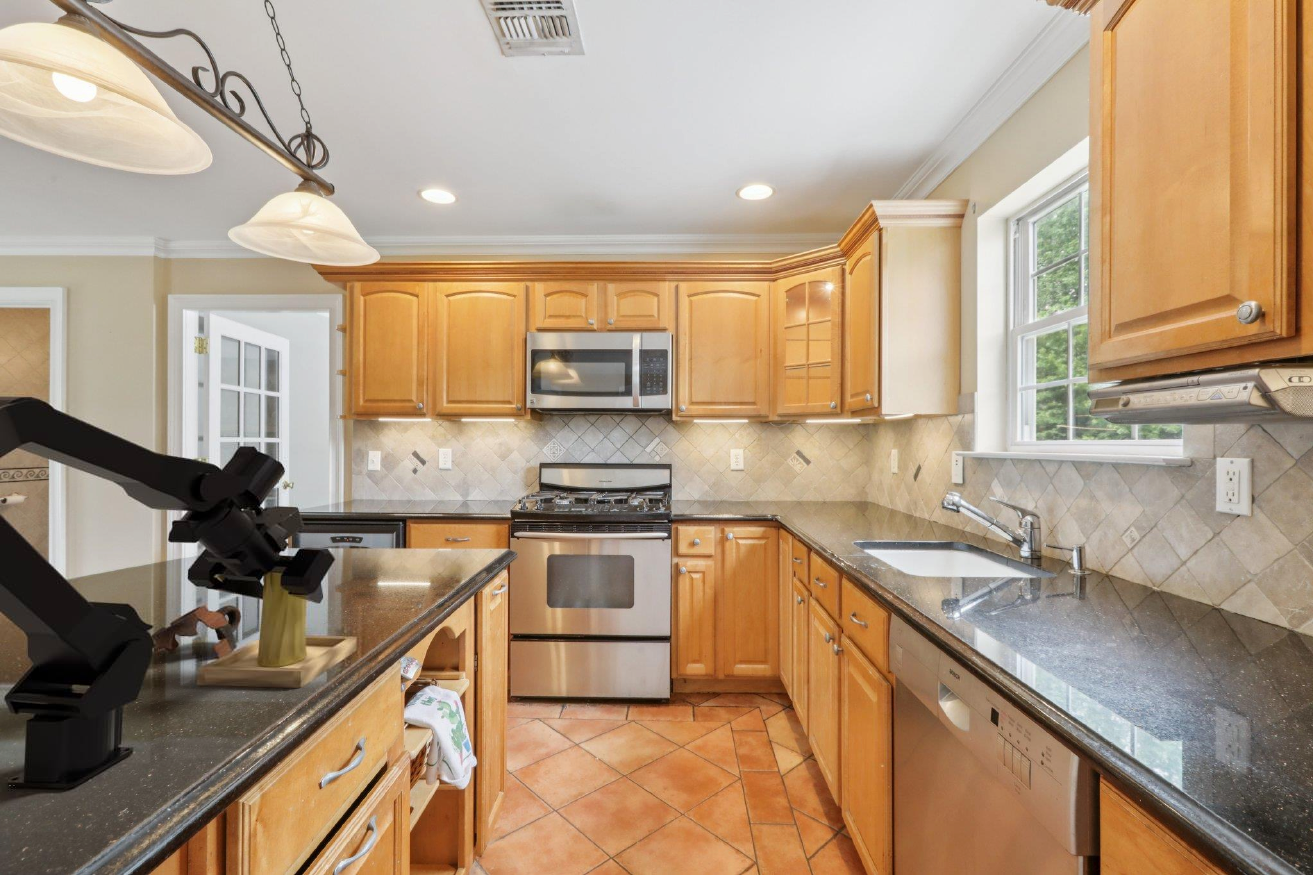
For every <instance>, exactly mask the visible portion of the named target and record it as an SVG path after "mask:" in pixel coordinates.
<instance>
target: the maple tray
mask: <svg viewBox="0 0 1313 875" xmlns="http://www.w3.org/2000/svg"><path fill="white" fill-rule="evenodd" d="M357 638H358V637H357V636H345V635H344V636H343V635H342V636H341V635H340V636H339V635H337V636H336V635H333V636H332V635H307V634H306V651H307V656H306V658H305V659H303V660H302V661H300V662H297V663H295V664H291V665H287V666H281V667H263V666H260V665H258V664H257V658H258V651H259V639H257V640H253V641H252V642H251V643H248V644H246V645H244V646H242V647H240V648H237V649H234V650H232V651H231V652H230V653H229V654H227V655H225V656H223V657H221V658H219V659H218V658H217V659H214V660H213V661H211V662H208V663H206V664H205V665H202V666H200V667H198V668H197V679H196V680H197V681H196V682H197V683H196V685H197V686H219V687H220V686H223V687H254V688H255V687H256V688H257V687H258V688H259V687H261V688H265V687H267V688H295V689H296V688H298V689H300V688H302V687H305V686H306V685H308V684H309V683H310V682H311V681H313V680H314V679H316V678H318V677H319V676H321V675H322V674H323V673H325V672H327V671H329V669H331V668H333V667H334V666H335V665H338V663H340V662H341V661H344V659H346V658H348V657H349V656H351V655H352V654H354V653H355V652H356V651H357V642H358V641H357Z"/></svg>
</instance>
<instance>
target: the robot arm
mask: <svg viewBox="0 0 1313 875" xmlns="http://www.w3.org/2000/svg"><path fill="white" fill-rule="evenodd" d="M16 449H18V450H22V451H25V452H27V453H31V454H33V455H35V456H39V457H42V458H43V459H44V458H45V459H47V460H50V461H53V462H56V463H58V464H60V465H64V466H68V467H69V468H73V469H76V470H79V471H81V472H84V473H86V474H89V475H92V476H95V477H98V478H101V479H103V480H107V481H109V482H111V483H113V484H116V485H118V486H119V487H121V488H122V489H123V490H124V492H125V493H126V495H127V496H128V497H130V498H132V499H133V500H135V501H137V502H138V503H141V505H144V506H146V507H147V508H150V509H152V510H157V511H158V510H159V511H179V512H180V511H181V512H183V511H184V512H185V514H183V515H182V517H181V518H180V519H178V520H177V519H175V520H172V521H171V529H170V531H169V533H168V537H167V538H168V539H167V540H168V543H174V544H175V543H179V544H180V543H182V544H183V543H184V544H186V543H187V544H196V543H198V542H199V543H200V544H201V546H203V547H204V550H203V551H202V552H201V553H200V555H198V557H197V558H196V559H195V560H194V561H193V563H192V564H191V566H189V568H188V569H187V580H188V581H189V582H190V583H191V584H193V585H194V587H199V588H205V589H207V590H212V591H213V590H214V591H219V592H223V593H228V594H234V595H238V596H239V595H240V596H244V597H248V598H254V599H257V600H262V601H263V586H264V584H263V583H262V582H261V580H262V578H264V575H265V574H268V573H269V572H271V573H282V575H281V583H280V585H281V586H282V588H283V589H284V590H287V591H289V592H288V594H289V595H292V596H295V597H299V598H302V599H305V600H306V601H308V602H311V603H314V604H321V602H322V601H323V599H324V593H323V587H322V582H323V580H324V579H325V577H326V575H327V574H328V572H329V571H330V569H331V567H332V565H333V563H334V562H335V560H336V558H335V556H334V554H333V553H332V552H331V551H330V549H329V548H325V547H311V546H310V547H309V546H305V547H301V548H298V550H297V551H296V553H295V555H282V554H280V553H281V552H285V550H286V549H287V548H288V547H289V545H290V544H289V543H288V541H287V540H288V539H289V538H290V537H292V536H294V534H296V533H297V532H298V531H302V530H303V529H304V528H305V525H304V524H305V523H304V522H303V518H302V516H301V513H300V510H299V507H297V506H281V505H277V506H271V507H269V506H267V507H264V508H263V507H262V506H261V505H262V504H263V503H264V501H265V500H266V499H267V498H268V497H269V495H270V494H271V492H272V490H273V489H274V488H275V487H276V485H278V483H279V481H280V480H281V479H282V477H283V476H285V473H286V470H285V469H286V468H285V467H284V465H283V463H282V462H281V461H278V460H277V459H275V458H274V457H273V456H270V455H268V454H267V453H264V452H261V451H258V449H257V448H256V446H250V445H249V446H248V445H247V446H245V445H240V446H239V447H238V448H237V450H236V451H235V452H234V454H233V455H232V456H231V458H230V459H229V460H228V461H227V463H226V464H225V465H224V466H223V467H222V469H221V468H220V467H219V466H217V465H216V464H214V463H211V462H206V461H202V460H197V459H193V458H189V457H183V456H175V455H169V454H163V453H160V452H155V451H153V450H150V449H148V448H146V447H144V446H141V445H139V444H136V443H135V442H132V441H131V440H128V439H125V438H122V437H121V436H118V435H116V434H114V433H111V432H109V431H106V430H105V429H102V428H100V427H97V426H95V425H93V424H91V423H89V422H85V421H84V420H81V419H80V418H77V417H75V416H72V415H70V414H67V413H65V412H62V411H61V410H58V409H57V408H54V406H52V405H51V404H49V403H48V402H46V401H44V400H42V399H40V398H35V397H32V396H0V459H2V458H3V457H5V456H6V455H8V454H9V453H11V452H13V451H14V450H16ZM0 613H1V614H2V615H4V617H6V618H7V619H8V620H9V621H10V622H12V623H13V624H14V625H15V626H16V627H17V628H19V629H20V630H21V631H22V632H23V633H24V634H25V635H26V639H27V640H26V641H27V657H28V659H29V660H30V661H31V663H32V665H31V666H30V668H28V670H27V671H26V672H25V673H24V674H23V675H22V676H21V677H20V679H19V680H18V681H17V682H16V683H15V684H14V685H13V686H12V687H11V689H10V690H9V691H8V692H7V693H6V694H5V696H4V702H5V704H6V705H7V708H8V710H9V712H10V714H12V715H19V714H21V715H22V714H25V715H33V717H31V718H28V719H27V720H26V722H25V742H24V744H25V745H24V760H23V761H24V763H23V765H24V766H23V768H24V769H23V771H22V772H20V773H19V774H17V775H15V776H13V777H10V778H9V779H7V781H6V787H9V785H11V786H13V785H14V786H23V787H22V788H42V789H43V788H48V789H50V788H51V789H70V788H74V787H76V786H79V785H80V784H83V783H84V782H86V781H87V780H90V779H91V778H93V777H94V776H96V775H98V774H100V773H102V772H103V771H105V770H106V769H108V768H110V767H112V766H113V765H115V764H117V763H118V762H120V761H122V760H124V759H125V758H127V757H129V756H130V755H132V754H133V753H134V749H135V748H134V747H132V746H129V747H128V746H127V747H126V746H121V745H122V739H123V738H122V736H123V715H124V714H123V712H124V708H123V706H125V705H128V704H129V703H132V702H134V701H136V700H137V699H138V698H139V695H140V692H141V688H142V686H143V683H144V680H145V678H146V674H147V671H148V669H149V665H150V663H151V660H152V657H153V651H154V646H155V640H154V639H153V637H152V634H151V633H150V632H149V631H150V630H152V629H153V628H154V626H153V625H152V624H150V623H146V622H145V621H143V619H141V617H140V615H139V614H138V612H137V611H136V609H135V608H134V607H133V606H132V605H131V604H129V603H120V602H108V601H107V602H106V601H105V602H103V601H88V599H86V598H85V597H84V596H83V595H82V593H80V592H79V591H78V590H77V588H75V587H74V586H73V584H71V583H70V582H69V581H68V580H67V578H65V577H64V576H63V575H62V573H60V572H59V570H57V569H56V568H55V567H54V566H53V565H52V564H51V563H50V562H49V560H47V558H45V557H44V556H43V555H42V554H41V553H40V552H39V551H38V550H37V549H36V548H35V547H34V546H33V545H32V544H31V543H30V542H29V541H28V540H27V539H26V538H25V537H24V535H22V534H21V533H20V532H19V531H18V529H16V528H15V527H14V526H13V525H12V524H11V523H10V522H9V521H8V520H7V519H6V518H5V517H4V516H3V515H2V514H1V513H0ZM73 686H83V687H88V688H87V689H83V688H73Z"/></svg>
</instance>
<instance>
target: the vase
mask: <svg viewBox="0 0 1313 875" xmlns="http://www.w3.org/2000/svg"><path fill="white" fill-rule="evenodd" d="M281 575H282V573H271V572H269V573H268V574H265V575H264V576H263V600H262V604H261V605H262V606H261V618H260V629H259V639H258V640H259V651H258V658H257V664H258V665H260V666H263V667H281V666H287V665H291V664H295V663H297V662H300V661H302V660H303V659H305V658H306V656H307V651H306V635H307V622H306V621H307V600H305V599H302V598H299V597H295V596H292V595H289V594H288V592H289V591H287V590H284V589H283V588H282V586H281V585H280V583H281Z"/></svg>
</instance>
